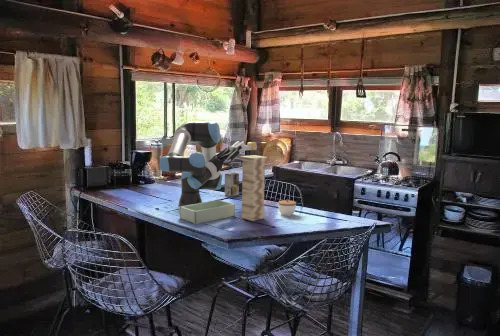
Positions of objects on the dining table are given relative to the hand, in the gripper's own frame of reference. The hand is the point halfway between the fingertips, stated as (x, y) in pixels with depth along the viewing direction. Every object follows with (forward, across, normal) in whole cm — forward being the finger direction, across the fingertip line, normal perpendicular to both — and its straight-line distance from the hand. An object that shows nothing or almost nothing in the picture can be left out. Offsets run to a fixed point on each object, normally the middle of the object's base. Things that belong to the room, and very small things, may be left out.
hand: (241, 143), depth 228 cm
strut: (-1, 0, -4) cm, 4 cm away
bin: (-30, -18, -34) cm, 49 cm away
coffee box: (+15, -58, -60) cm, 84 cm away
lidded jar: (+5, +7, -54) cm, 55 cm away
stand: (-14, 0, -43) cm, 45 cm away
